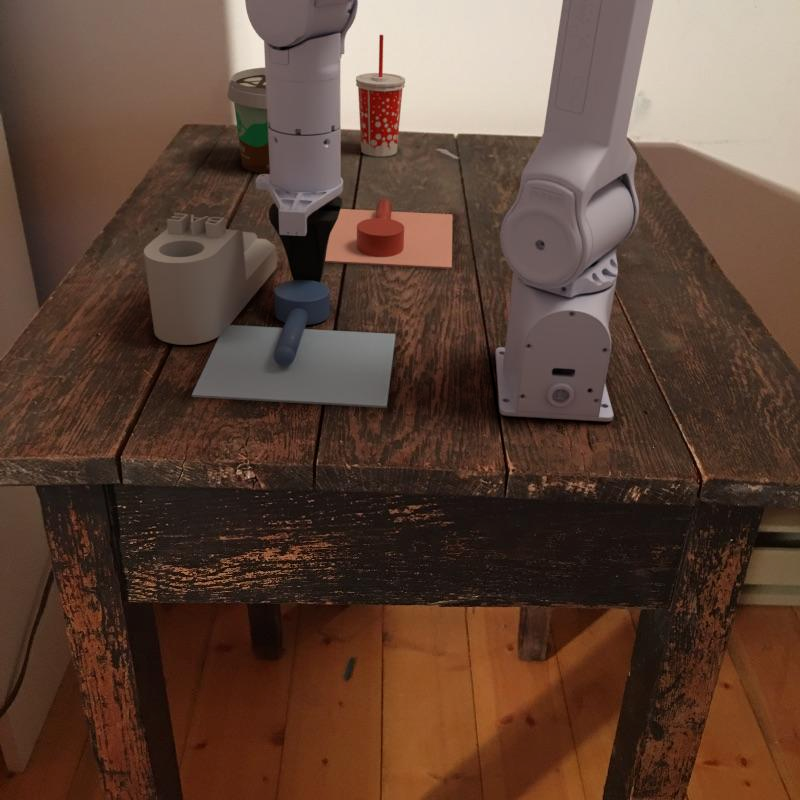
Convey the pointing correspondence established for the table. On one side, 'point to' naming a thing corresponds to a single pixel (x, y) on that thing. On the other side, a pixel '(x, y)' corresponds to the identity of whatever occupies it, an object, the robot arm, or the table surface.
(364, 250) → the red spoon
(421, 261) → the rose mat
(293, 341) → the blue spoon
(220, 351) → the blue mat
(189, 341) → the grey lettered holder
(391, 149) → the beverage cup
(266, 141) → the food container
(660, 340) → the table surface
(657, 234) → the table surface
